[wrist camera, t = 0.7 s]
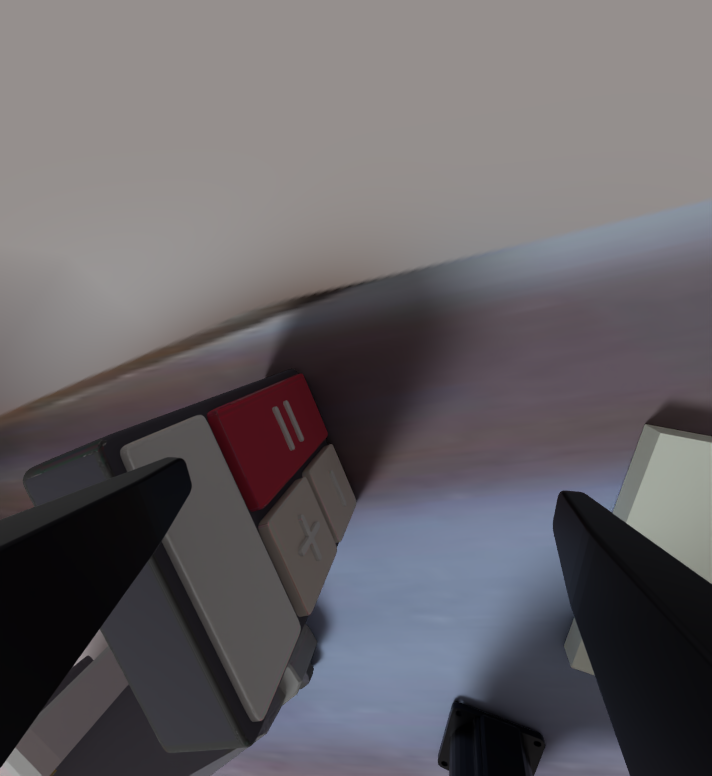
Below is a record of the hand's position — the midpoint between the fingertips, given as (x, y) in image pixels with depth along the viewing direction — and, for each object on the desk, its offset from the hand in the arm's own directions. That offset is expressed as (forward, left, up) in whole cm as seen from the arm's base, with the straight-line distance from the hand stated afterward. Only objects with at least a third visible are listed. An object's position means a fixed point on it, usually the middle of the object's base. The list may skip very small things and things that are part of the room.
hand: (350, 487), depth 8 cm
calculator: (-6, +7, -15) cm, 17 cm away
